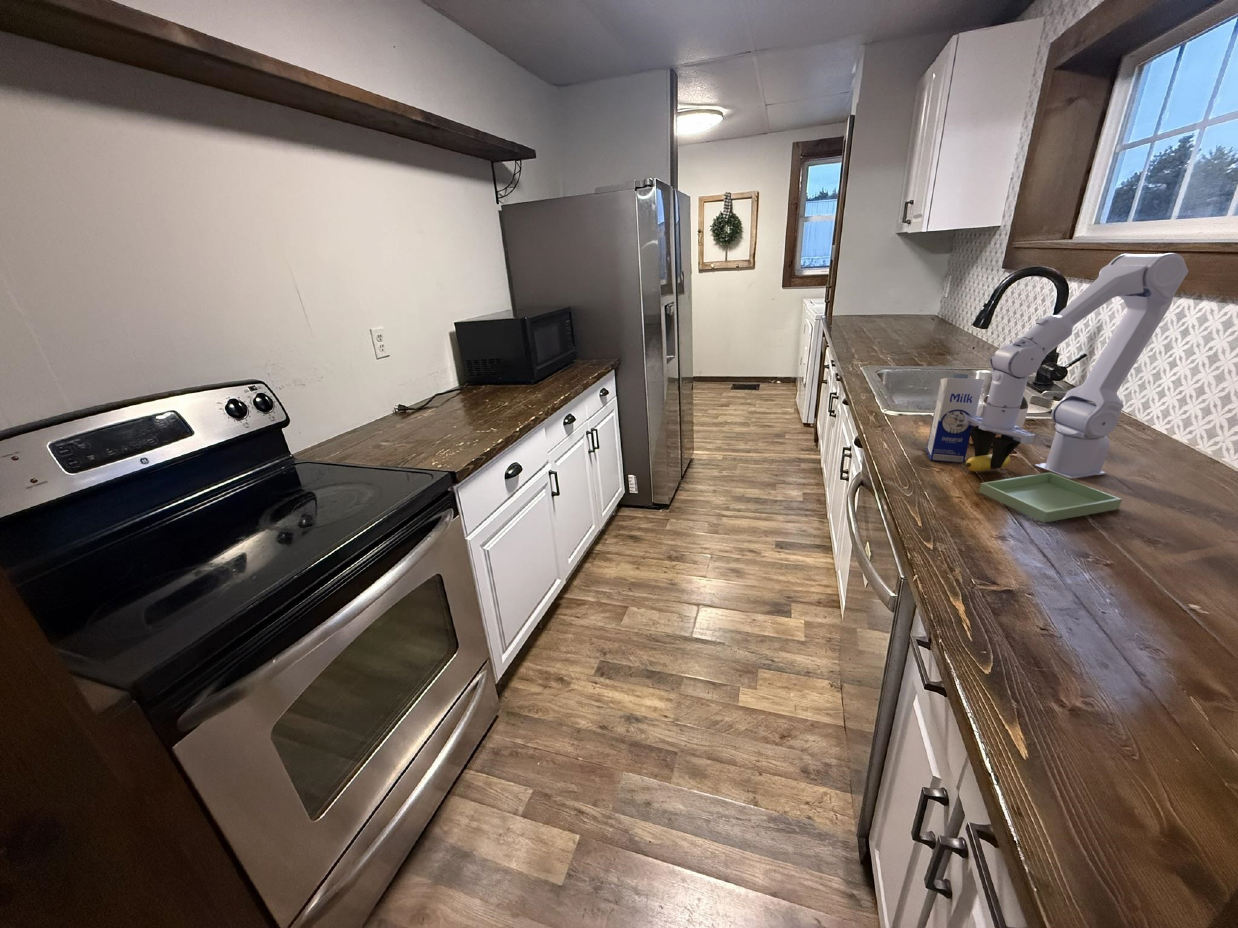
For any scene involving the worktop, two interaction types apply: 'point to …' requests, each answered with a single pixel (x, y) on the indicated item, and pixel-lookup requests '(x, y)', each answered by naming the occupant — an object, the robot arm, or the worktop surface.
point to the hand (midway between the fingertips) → (987, 464)
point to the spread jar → (1021, 413)
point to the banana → (982, 463)
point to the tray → (1049, 496)
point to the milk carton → (953, 418)
